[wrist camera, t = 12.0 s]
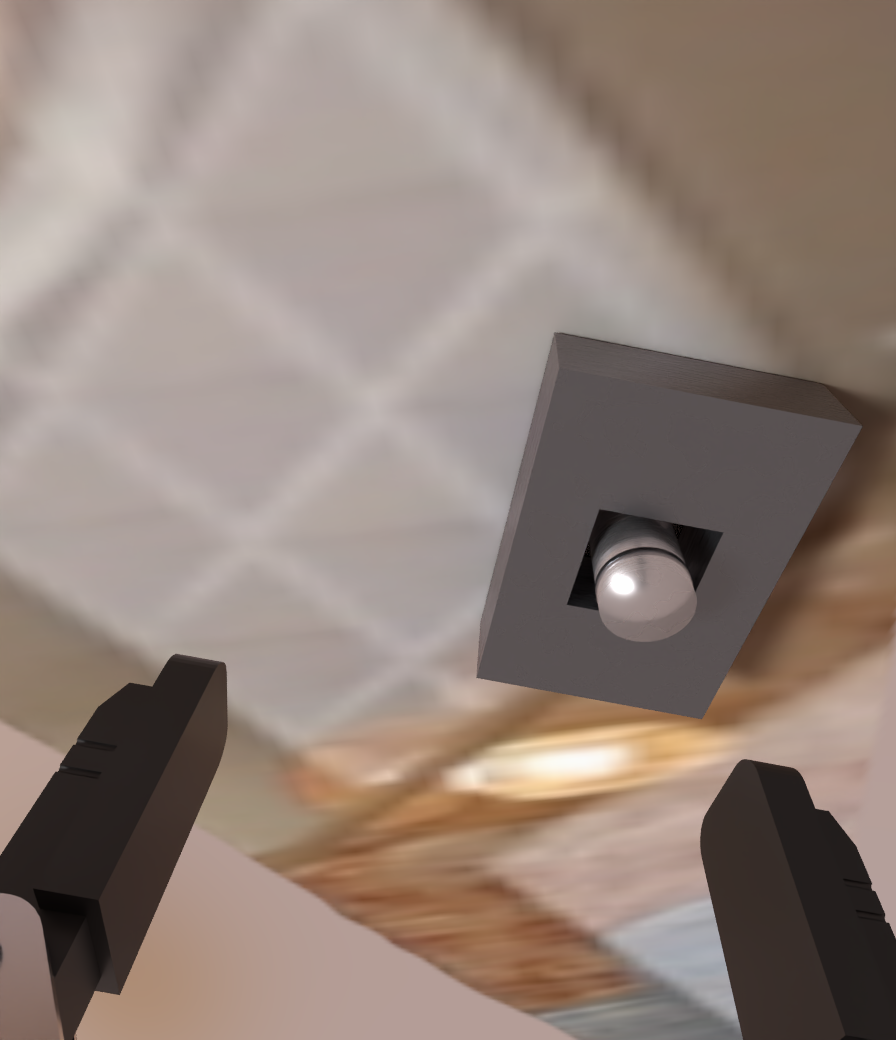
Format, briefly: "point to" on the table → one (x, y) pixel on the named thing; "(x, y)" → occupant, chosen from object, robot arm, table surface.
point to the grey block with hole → (654, 515)
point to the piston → (640, 577)
